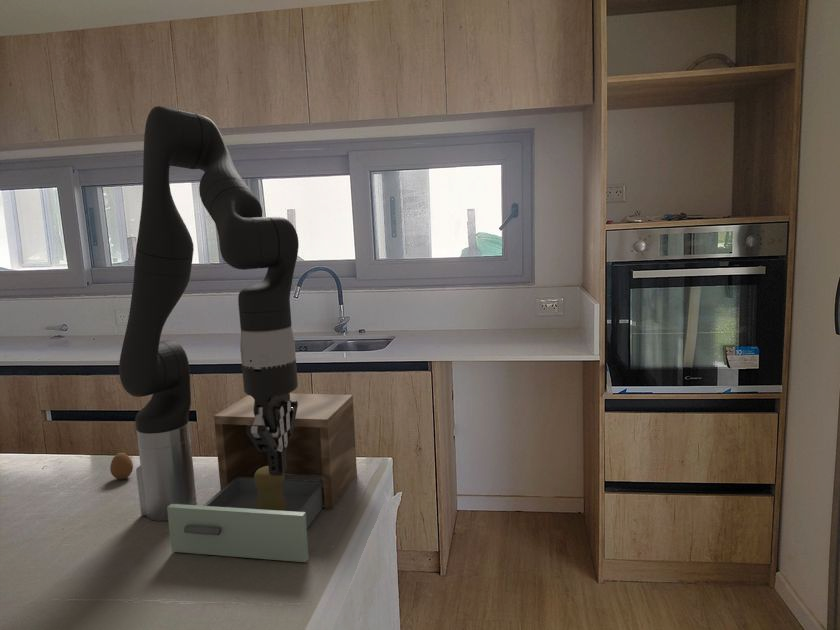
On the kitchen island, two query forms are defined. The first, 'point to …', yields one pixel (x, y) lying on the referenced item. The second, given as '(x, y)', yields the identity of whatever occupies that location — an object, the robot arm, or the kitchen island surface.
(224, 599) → the kitchen island surface
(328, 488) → the cabinet
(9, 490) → the kitchen island surface
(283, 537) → the drawer
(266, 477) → the olive tall rounded piece
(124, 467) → the egg
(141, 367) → the robot arm
